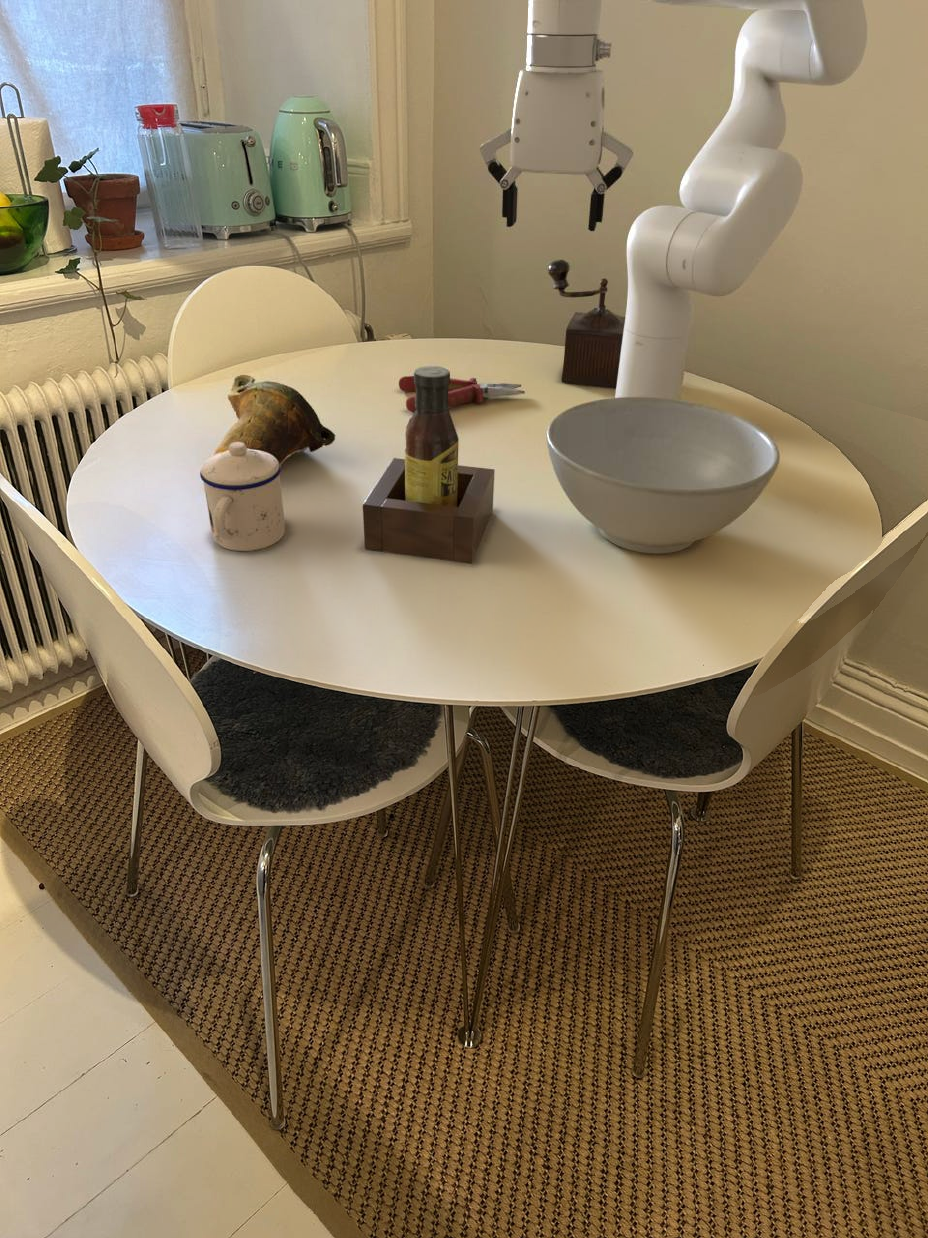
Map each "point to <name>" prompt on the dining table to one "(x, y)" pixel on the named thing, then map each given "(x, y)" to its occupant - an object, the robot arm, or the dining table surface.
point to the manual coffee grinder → (589, 337)
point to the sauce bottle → (431, 442)
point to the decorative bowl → (659, 468)
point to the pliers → (463, 391)
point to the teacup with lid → (244, 498)
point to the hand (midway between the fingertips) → (551, 226)
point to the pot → (273, 420)
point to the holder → (428, 516)
